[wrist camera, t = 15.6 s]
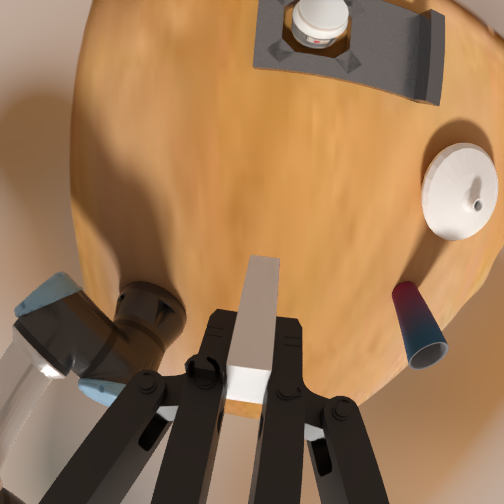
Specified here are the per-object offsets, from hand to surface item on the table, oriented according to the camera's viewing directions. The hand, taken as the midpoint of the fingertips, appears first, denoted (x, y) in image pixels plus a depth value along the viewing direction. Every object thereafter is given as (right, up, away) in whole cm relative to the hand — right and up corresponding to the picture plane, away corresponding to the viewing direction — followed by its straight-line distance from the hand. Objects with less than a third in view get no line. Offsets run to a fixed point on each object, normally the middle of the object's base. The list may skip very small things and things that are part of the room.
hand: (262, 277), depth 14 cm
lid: (+31, +11, +18) cm, 37 cm away
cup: (+27, -6, +29) cm, 41 cm away
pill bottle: (+7, +29, +10) cm, 31 cm away
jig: (+11, +28, +10) cm, 32 cm away
